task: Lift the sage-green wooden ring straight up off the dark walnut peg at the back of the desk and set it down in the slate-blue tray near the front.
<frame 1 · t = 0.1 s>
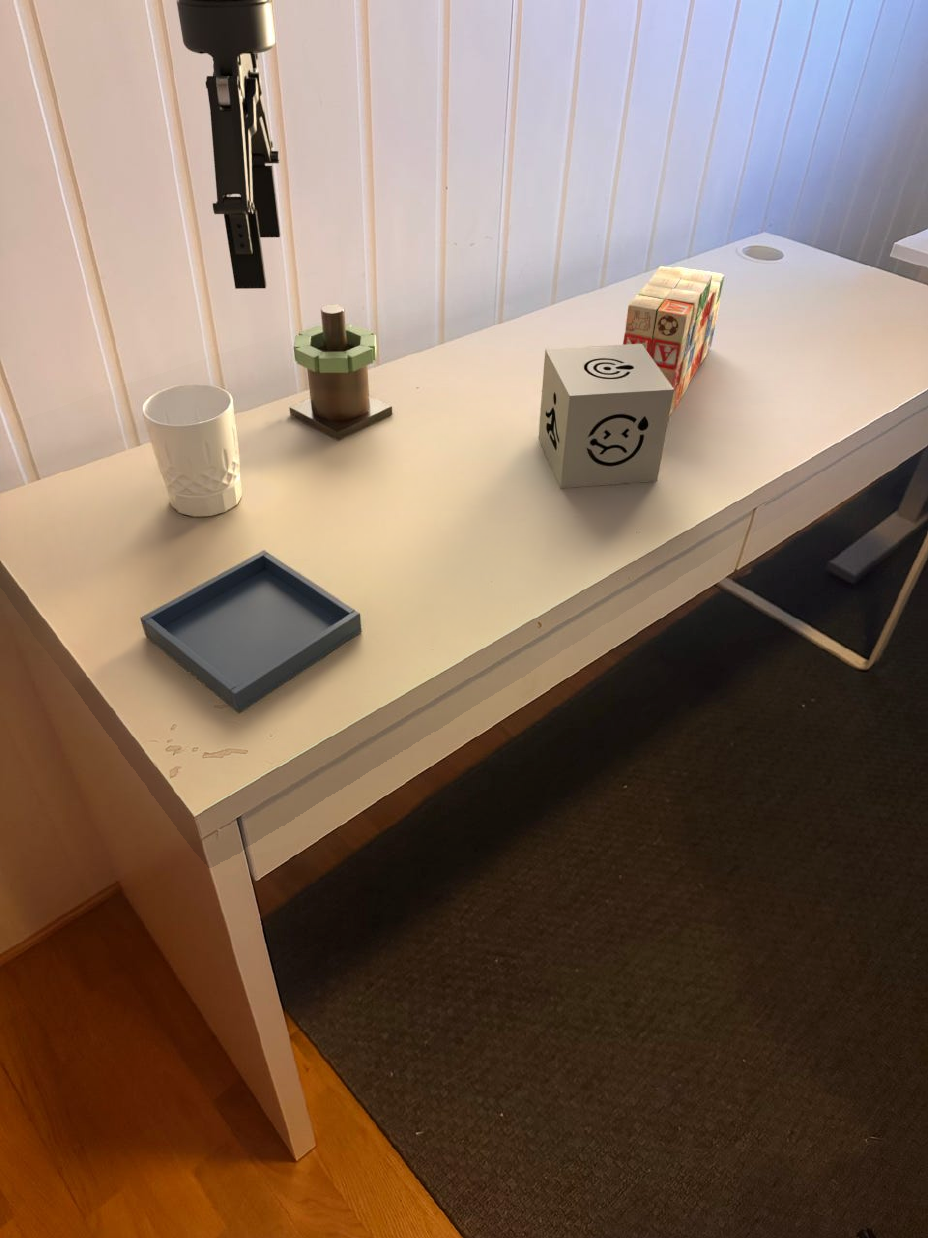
hand: (259, 260, 86), 18 cm above the table, tool pointing down, fingers open, 13 cm apart
peg stand: (341, 414, 99), on the table
white cup: (207, 499, 86), on the table
ring: (336, 354, 94), point 7 cm above the table, touching peg stand
tray: (254, 634, 72), on the table
icon cube: (595, 460, 93), on the table
stack of blocks: (665, 378, 107), on the table
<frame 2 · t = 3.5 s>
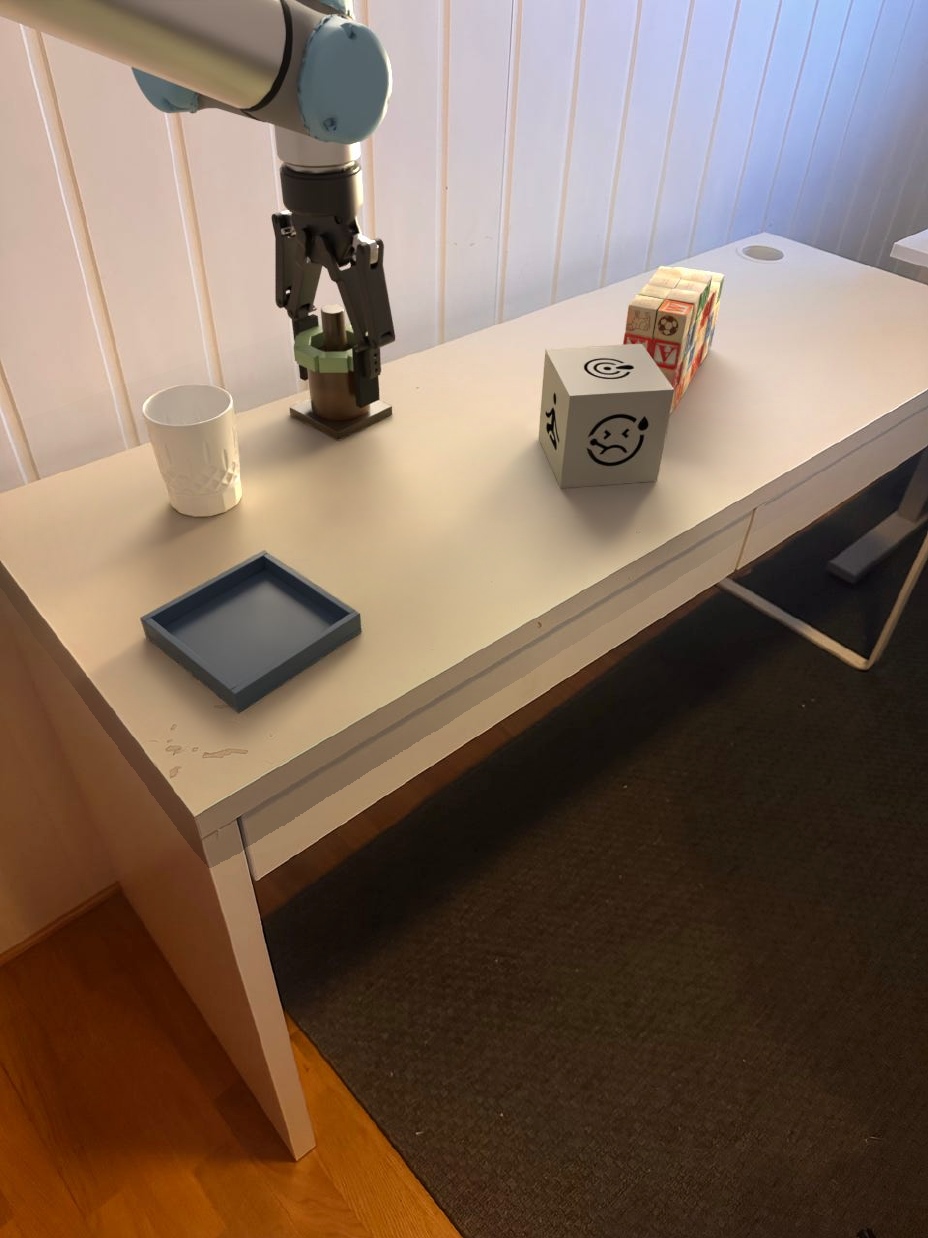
hand: (339, 388, 97), 3 cm above the table, tool pointing down, fingers closed on ring, 8 cm apart
ring: (336, 354, 94), point 7 cm above the table, touching gripper, peg stand
everything else where it was.
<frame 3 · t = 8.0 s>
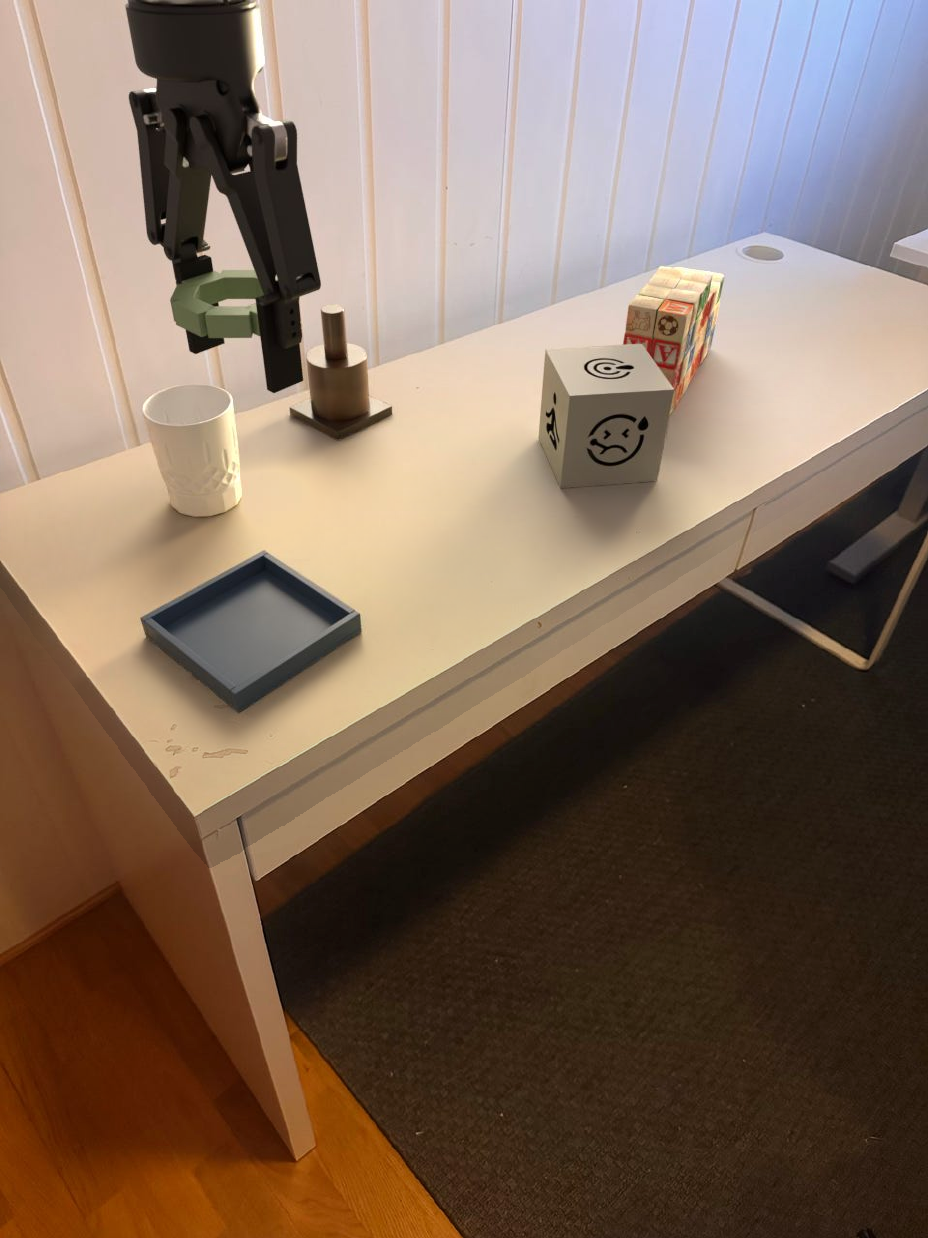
hand: (245, 365, 66), 19 cm above the table, tool pointing down, fingers closed on ring, 8 cm apart
ring: (237, 313, 63), point 23 cm above the table, touching gripper
everything else where it was.
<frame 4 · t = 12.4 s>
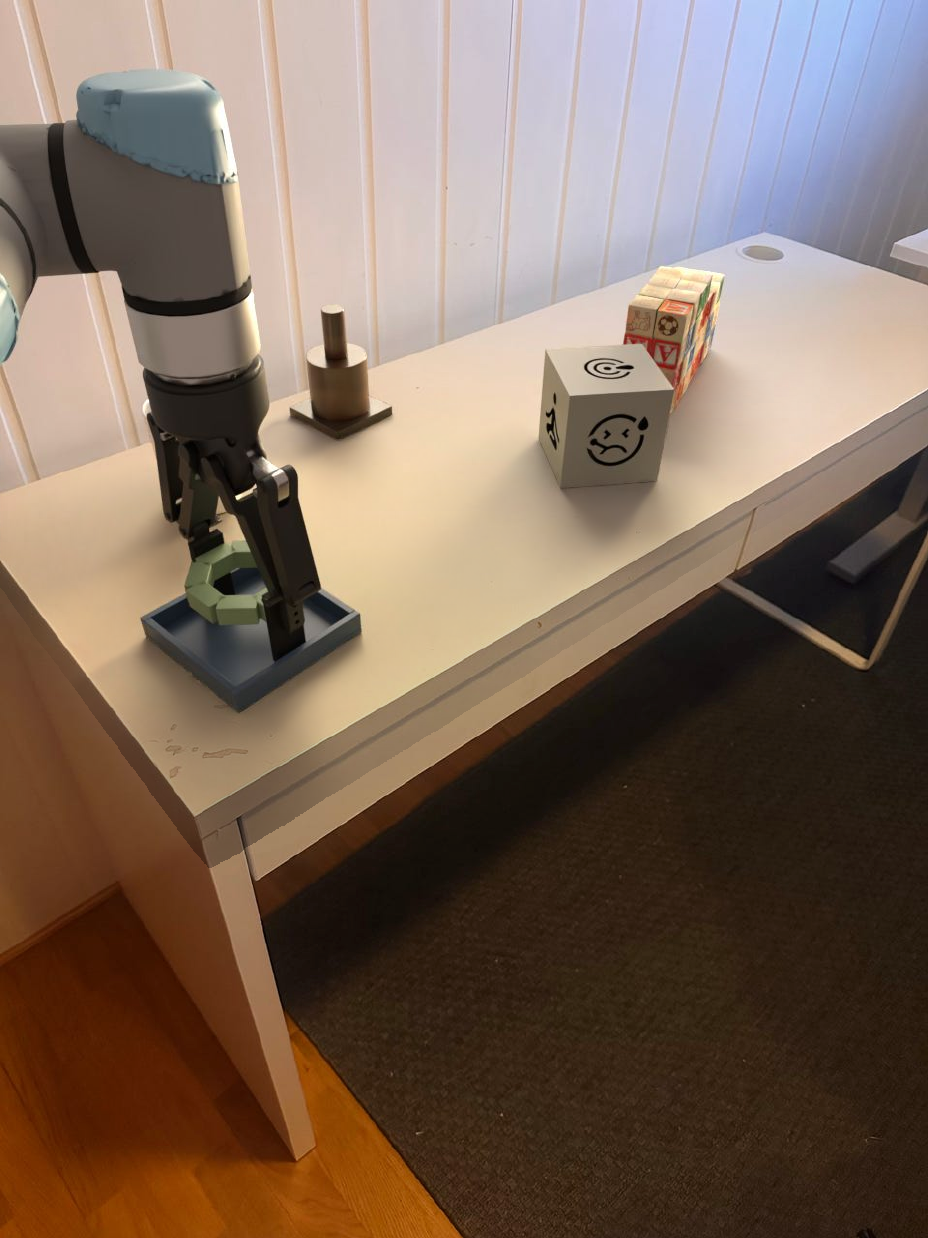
hand: (253, 626, 71), 1 cm above the table, tool pointing down, fingers closed on ring, 8 cm apart
ring: (246, 589, 69), point 5 cm above the table, touching gripper
everything else where it was.
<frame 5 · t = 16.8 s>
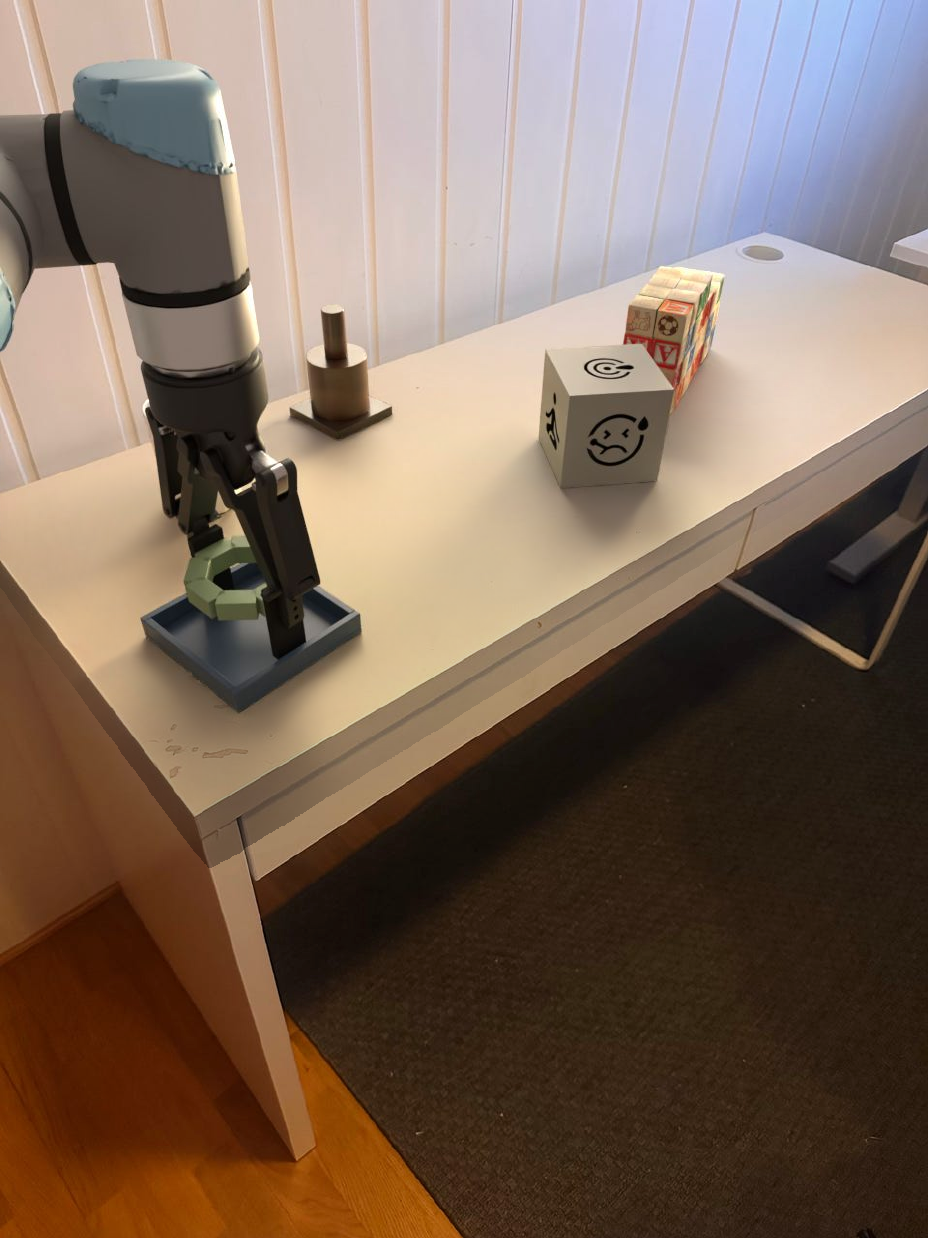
hand: (253, 622, 71), 1 cm above the table, tool pointing down, fingers closed on ring, 8 cm apart
ring: (246, 584, 68), point 5 cm above the table, touching gripper
everything else where it was.
when the fingers open (2 cm above the table, at t = 21.1 s): ring drops 1 cm, resting on tray.
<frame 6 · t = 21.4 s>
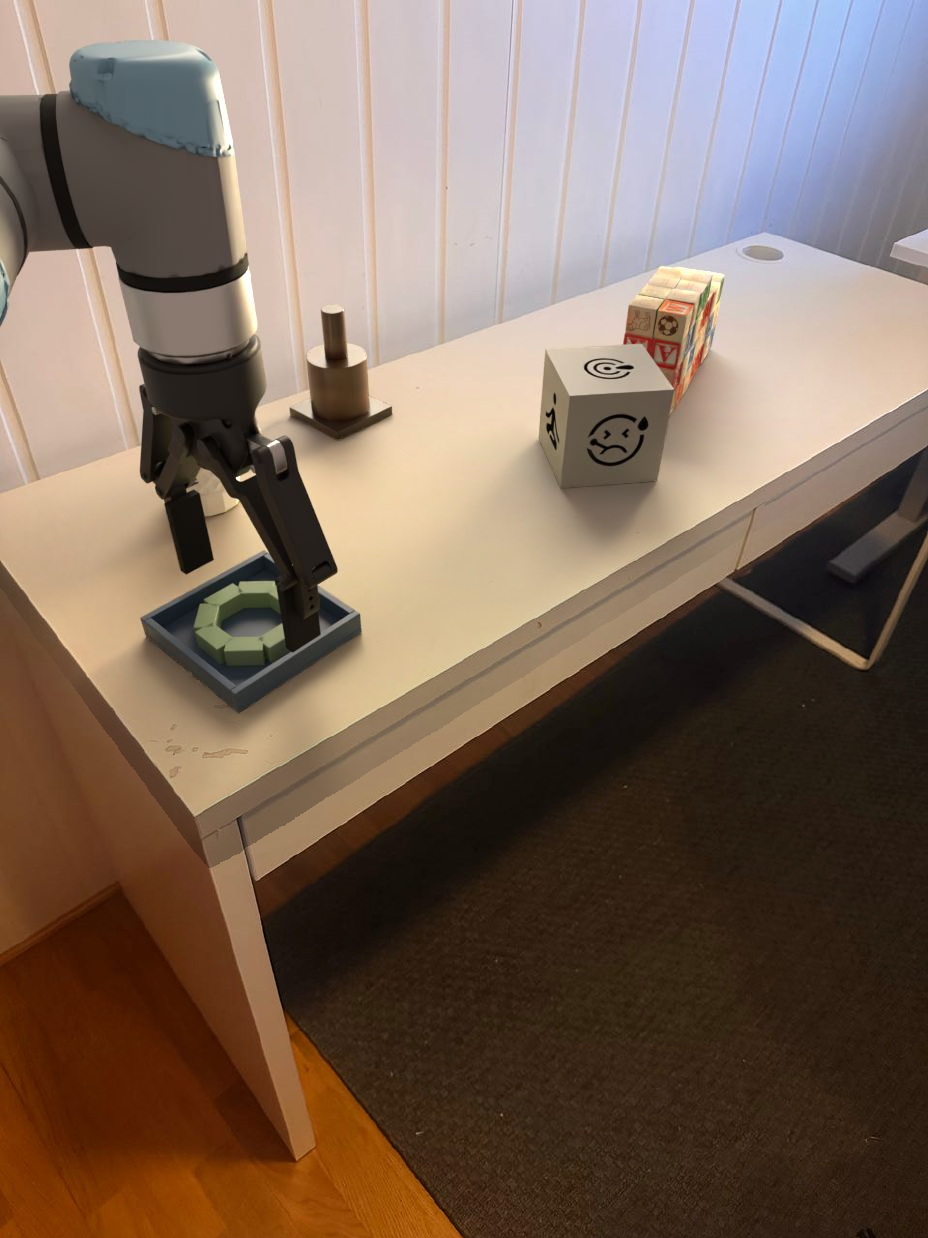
hand: (248, 601, 70), 3 cm above the table, tool pointing down, fingers open, 13 cm apart
ring: (253, 629, 71), resting on tray
everything else where it was.
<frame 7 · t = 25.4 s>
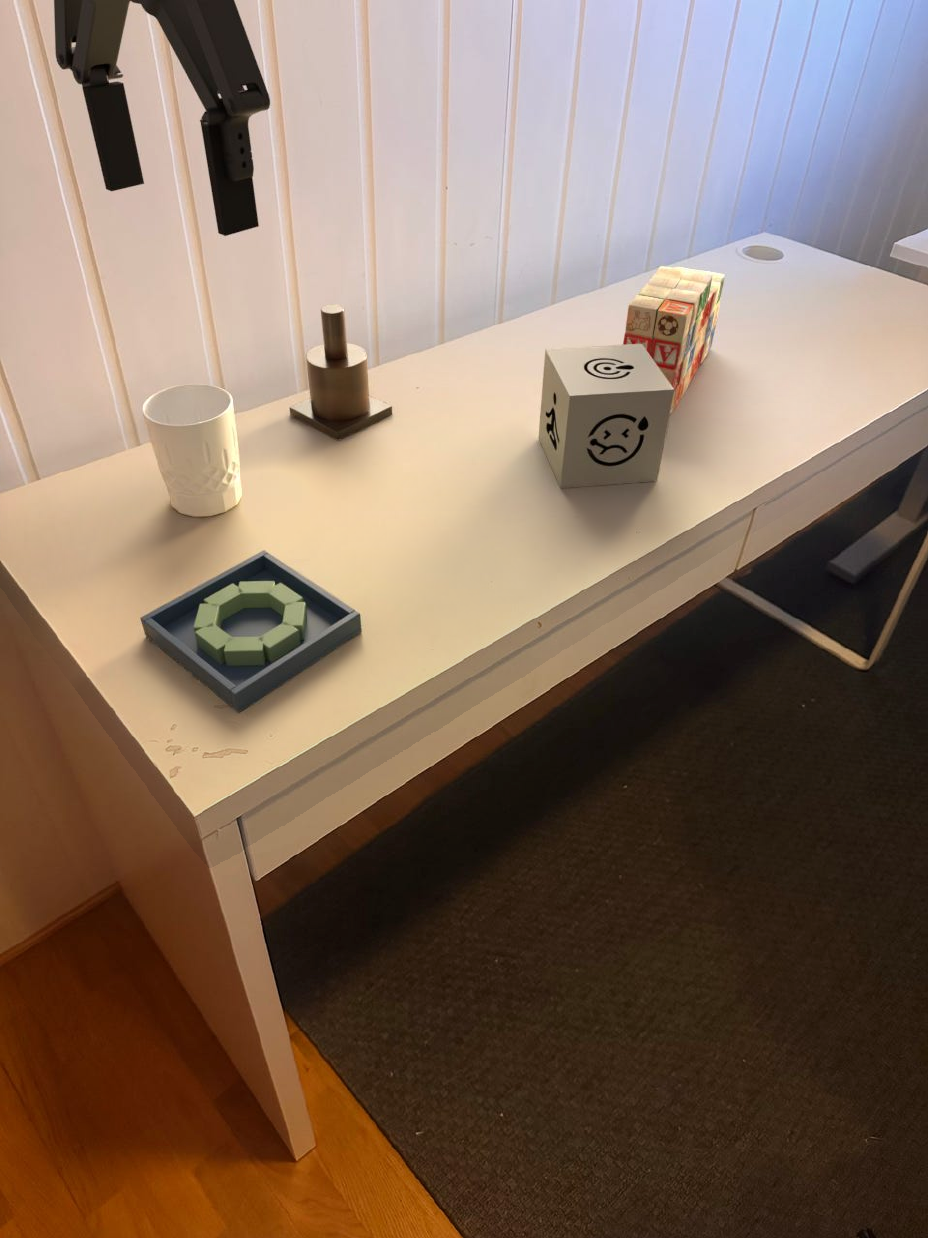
hand: (179, 207, 62), 29 cm above the table, tool pointing down, fingers open, 13 cm apart
nothing on the table moved.
at the end: ring inside the target area in the tray (0.0 cm from its centre), point 0.5 cm above the tray's base; the gripper is holding nothing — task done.
